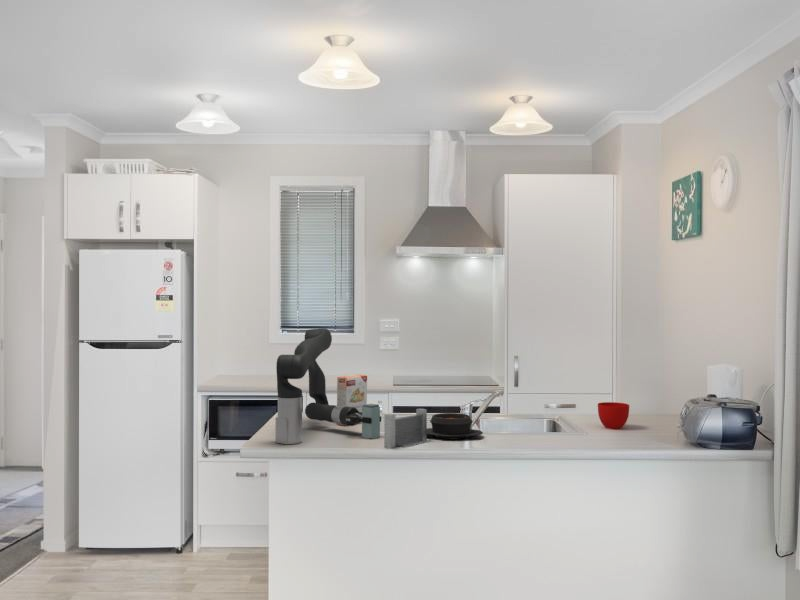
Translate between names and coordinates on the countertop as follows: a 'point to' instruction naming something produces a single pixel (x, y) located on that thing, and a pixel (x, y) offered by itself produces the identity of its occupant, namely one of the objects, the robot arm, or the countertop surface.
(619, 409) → the ceramic cup
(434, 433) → the casserole
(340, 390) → the cracker box
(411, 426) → the grey wall block
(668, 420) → the countertop surface
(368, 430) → the block
